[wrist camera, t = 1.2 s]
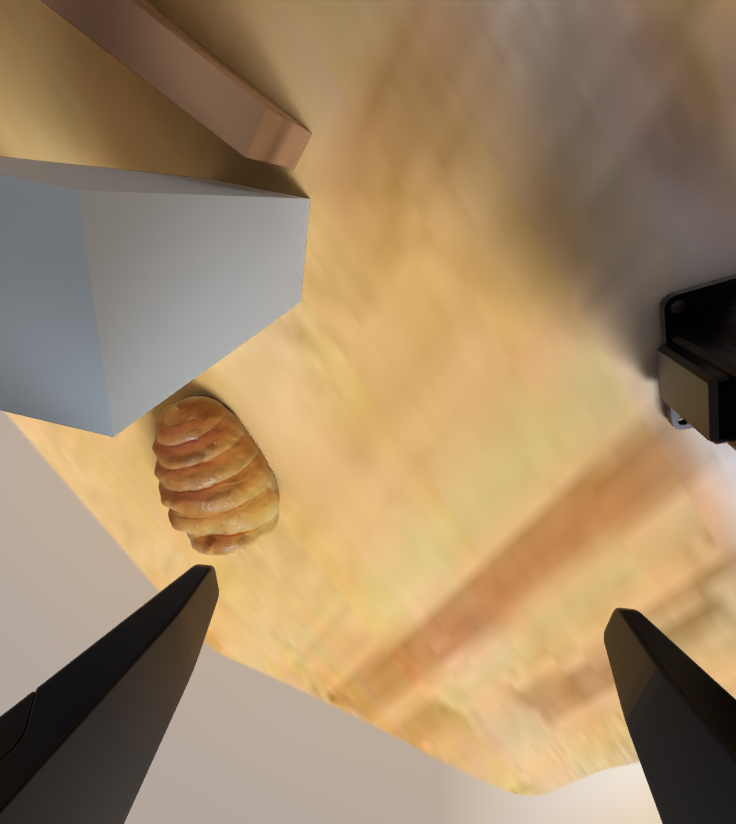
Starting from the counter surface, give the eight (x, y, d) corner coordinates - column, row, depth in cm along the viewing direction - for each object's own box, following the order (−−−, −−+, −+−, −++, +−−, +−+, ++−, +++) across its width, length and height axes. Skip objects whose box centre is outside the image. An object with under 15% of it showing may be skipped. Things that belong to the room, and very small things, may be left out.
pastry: (144, 399, 24) (97, 430, 21) (248, 383, 23) (215, 414, 19) (204, 522, 28) (173, 565, 25) (296, 515, 27) (275, 560, 23)
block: (310, 198, 18) (76, 190, 6) (300, 302, 20) (113, 437, 8) (210, 178, 18) (-189, 136, 6) (211, 282, 20) (-88, 389, 9)
